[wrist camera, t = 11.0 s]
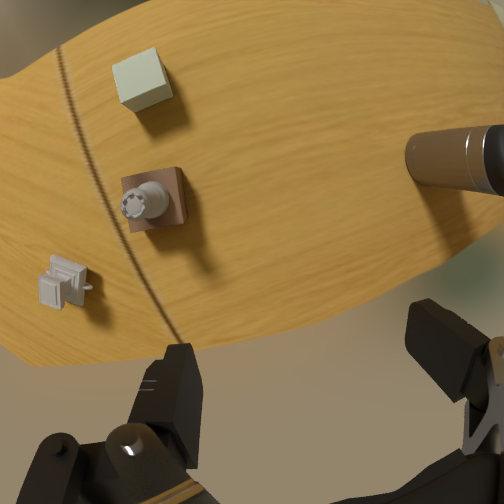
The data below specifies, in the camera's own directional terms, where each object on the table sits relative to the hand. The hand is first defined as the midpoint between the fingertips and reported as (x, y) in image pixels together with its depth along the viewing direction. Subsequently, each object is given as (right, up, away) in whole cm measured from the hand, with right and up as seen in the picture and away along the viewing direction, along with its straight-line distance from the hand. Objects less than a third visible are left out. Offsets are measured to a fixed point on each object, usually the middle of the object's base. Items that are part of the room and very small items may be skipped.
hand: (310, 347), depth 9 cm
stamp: (-30, 0, +29) cm, 42 cm away
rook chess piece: (-14, +10, +23) cm, 29 cm away
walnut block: (-15, +11, +28) cm, 33 cm away
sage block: (-17, +27, +24) cm, 39 cm away
